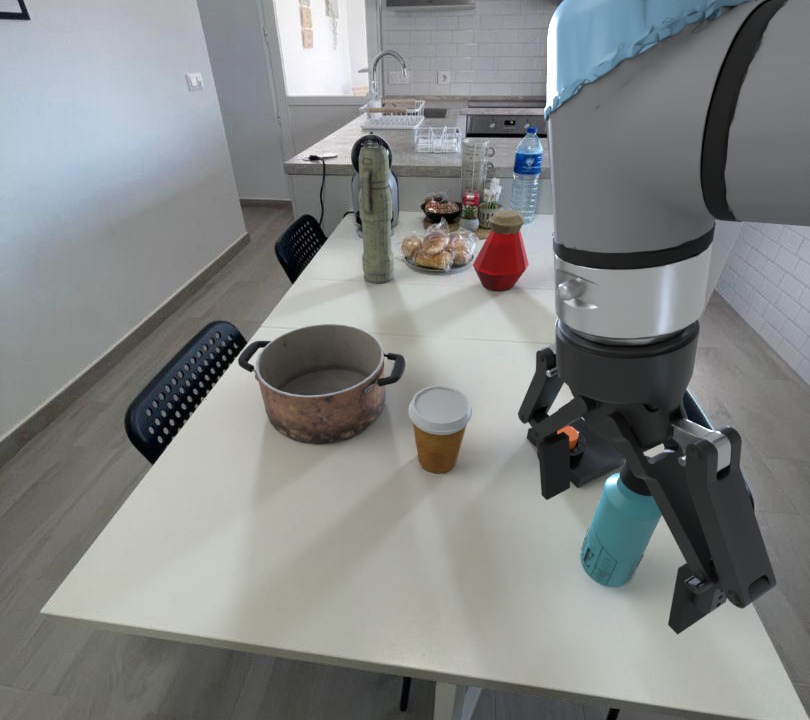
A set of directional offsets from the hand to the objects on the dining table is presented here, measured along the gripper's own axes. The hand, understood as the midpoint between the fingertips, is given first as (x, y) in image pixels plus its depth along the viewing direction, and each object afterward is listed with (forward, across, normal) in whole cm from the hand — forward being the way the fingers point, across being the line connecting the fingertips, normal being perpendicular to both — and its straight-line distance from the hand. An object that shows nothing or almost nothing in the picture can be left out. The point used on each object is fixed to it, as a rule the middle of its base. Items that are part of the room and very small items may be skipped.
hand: (611, 546), depth 36 cm
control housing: (+22, -27, +19) cm, 40 cm away
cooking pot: (+12, -55, -14) cm, 59 cm away
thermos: (+10, -103, +15) cm, 105 cm away
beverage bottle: (+23, -9, +8) cm, 26 cm away
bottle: (+17, -85, +43) cm, 97 cm away
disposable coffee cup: (+17, -35, -2) cm, 39 cm away
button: (+18, -26, +17) cm, 36 cm away
